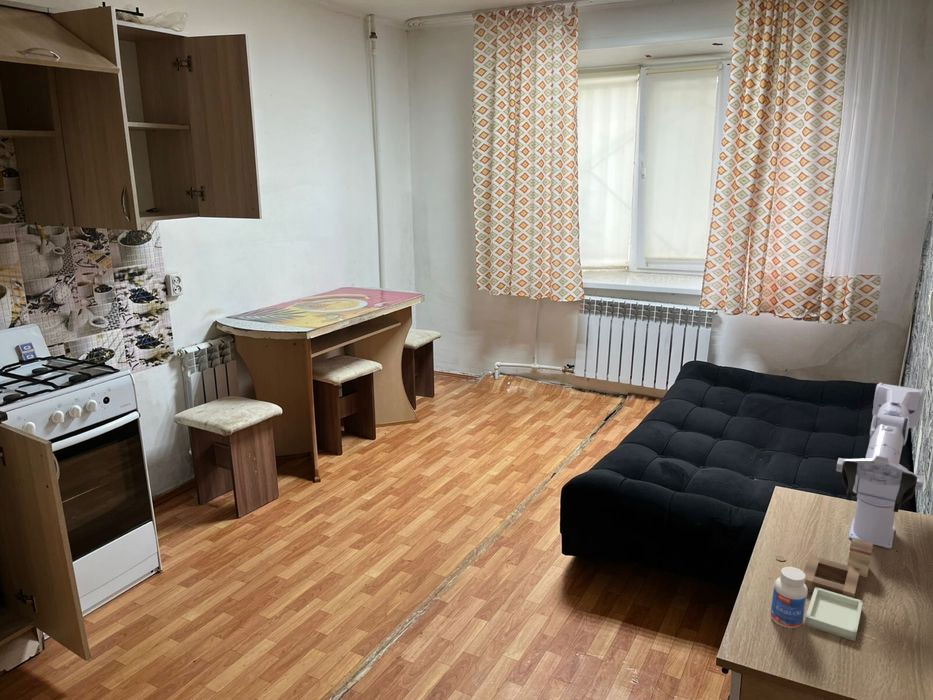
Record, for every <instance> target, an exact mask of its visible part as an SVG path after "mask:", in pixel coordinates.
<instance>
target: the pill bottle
mask: <svg viewBox="0 0 933 700" xmlns="http://www.w3.org/2000/svg"><path fill="white" fill-rule="evenodd" d="M780 570H781V571H780V575H779V577H778V578H777V579H775V581H774V585H773V590H772V591H773V592H772V598H771V606H770V617H771V620H772V621H773V622H775V624H777V625H779V626H781V627H783V628H787V629H796V628H798V627H801V626H802V624H803V622H804V616H805V609H806V604H807V598H808V593H809V591H808V589H807V586H806V585H805V584H804V583H805V578H806V575H805V573H804V570H801V569H799V568H797V567H794V566H784V567H782V568H781V569H780Z"/></svg>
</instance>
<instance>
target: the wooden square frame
mask: <svg viewBox="0 0 933 700" xmlns="http://www.w3.org/2000/svg"><path fill="white" fill-rule="evenodd" d="M803 572H804V573H805V575H806V578H805V583H804V584H805V585H806V586H807V589H808V593H812V594H813V592H814V589H815V587H818V588H821V589H825V590H828V591H832V592H835V593H838V594H842V595H845V596H848V597H852V598H855V596H856V592H857V588H858V584H859V579H860V575H859V574H860V569H859V568H855V567H852V566H848V564H844V563H840V562H836V561H833V560H830V559H825V558H822V557H818V556H814V555H812V554H809V555H808V559H807V561H806V565H805V568H804V570H803ZM818 574H819V575H823V576H826V577H830V578H833V579H836V580H840V581H844V584H842V583H839V582H835V581H832V580H828V579H826V578H825V579H824V578H822V577H819V576H817V575H818ZM855 599H856V598H855Z"/></svg>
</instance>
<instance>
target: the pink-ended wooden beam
mask: <svg viewBox="0 0 933 700" xmlns="http://www.w3.org/2000/svg"><path fill="white" fill-rule="evenodd" d="M850 542H851V543H850V545H849V552H848V560H847V565H848V566H852V567H855V568H859V569H860V574H859V576H861V577H864V578H868V574H869V569H870V564H871V557H872V552H873V548H874V547H873V546H874V544H871V543H867V542H863V541H860V540H856V539H851V541H850Z"/></svg>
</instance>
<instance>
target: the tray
mask: <svg viewBox="0 0 933 700" xmlns="http://www.w3.org/2000/svg"><path fill="white" fill-rule="evenodd" d="M863 602H864V600H861V599H858V598H852V597H848V596H845V595H842V594H838V593H835V592H832V591H828V590H825V589H821V588H818V587H815V589H814V592H813V593H812V595H811V599H810V602H809V605H808V608H807V611H806V615H805V620H804V625H805V626H807V627H810V628H813V629H816V630H819V631H822V632H824V633H828V634H830V635H834V636H837V637H840V638H844V639H847V640H849V641H853V642H856V639H857V638H856V637H857V633H858V630H859V629H858V628H859V626H860V625H859V624H860V621H861V620H860V619H861V614H862V610H863V606H864V605H863V604H864V603H863Z"/></svg>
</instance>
